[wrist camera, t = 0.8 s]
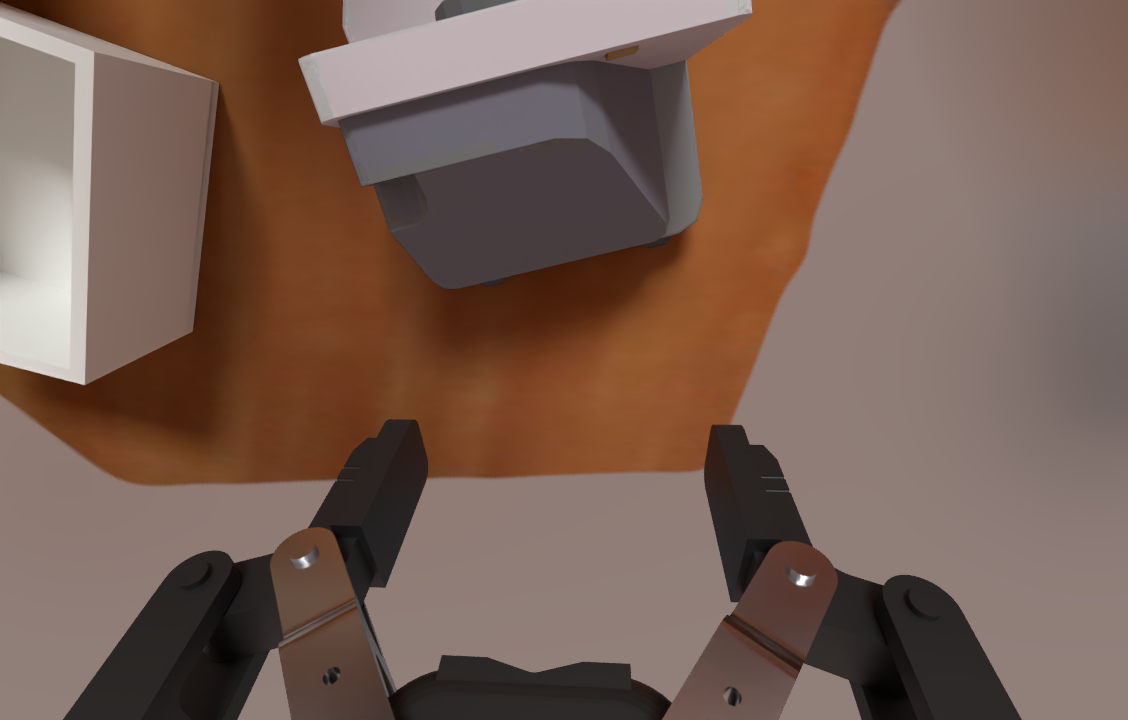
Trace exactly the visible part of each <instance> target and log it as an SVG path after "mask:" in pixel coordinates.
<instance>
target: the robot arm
mask: <svg viewBox="0 0 1128 720" xmlns="http://www.w3.org/2000/svg"><path fill="white" fill-rule="evenodd" d="M427 474H428V460H427V456H426V452H425V448H424V444H423V440H422V436H421V432H420V428H419V425H418V422H417V421H416V420H393V419H389V420H387V421H386V422H385V423H384V425H383V427H382V429H381V431H380V433H379V434H378V436H377V438H367V439H366V440H365V441H364V442H363V443H361V444H360V445H359V446H358V447H357V448H356V449H355V450H353V452H352V453H351V455H350V457H349V459H348V460H347V462H346V464H345V465H344V469H342V471H341V472H340V474H339V476H338V477H337V481H335V483H334V485H333V486H332V488H331V490H330V491H329V493H328V495H327V496H326V498H325V500H324V502H323V503H322V505H321V507H320V508H319V510H318V512H317V514H316V515H315V517H314V519H313V521H312V522H311V524H310V526H309V527H308V528H307V529H304V530H301V531H299V532H297V533H295V534H293V535H291V536H290V537H288V538H287V539H286V540H285V541H283V542H282V543H281V544H280V545H279V546H278V547H277V549H276V550H275V552H274V553H272V554H269V555H265V556H262V557H257V558H253V559H249V560H245V561H241V562H237V563H234V562H233V561H232V559H231V558H230V556H229V555H228V554H226V553H225V552H222V551H207V552H203V553H200V554H197V555H195V556H193V557H191V558H189V559H187V560H185V561H184V562H182V563H181V564H179V565H178V566H177V567H176V568H174V569H173V570H172V571H171V572H170V573H169V574H168V576H167V577H166V578H165V579H164V581H163V582H162V583H161V585H160V586H159V587H158V589H157V590H156V592H155V593H154V594H153V596H152V597H151V599H150V600H149V601H148V603H147V604H146V605H145V607H144V608H143V610H142V611H141V612H140V614H139V615H138V617H137V618H136V619H135V621H134V622H133V624H132V625H131V626H130V628H129V629H128V630H127V632H126V633H125V635H124V636H123V637H122V639H121V640H120V641H119V643H118V644H117V646H116V647H115V648H114V650H113V651H112V653H111V654H110V655H109V657H108V658H107V659H106V661H105V662H104V664H103V665H102V666H101V668H100V669H99V671H98V672H97V673H96V675H95V676H94V677H93V679H92V680H91V682H90V683H89V684H88V686H87V687H86V689H85V690H84V692H83V693H82V694H81V695H80V697H79V698H78V700H77V701H76V702H75V704H74V705H73V707H72V708H71V710H70V711H69V712H68V714H67V715H66V716H65V718H64V719H63V720H237V719H238V717H239V715H240V713H241V710H242V708H243V706H244V704H245V702H246V700H247V698H248V696H249V693H250V691H251V689H252V687H253V685H254V683H255V681H256V679H257V676H258V675H259V672H260V670H261V668H262V666H263V664H264V662H265V660H266V658H267V655H268V653H269V651H270V650H271V649H275V648H278V647H279V654H280V661H281V666H282V671H283V677H284V682H285V687H286V693H287V699H288V704H289V709H290V714H291V720H779V718H780V715H781V713H782V711H783V708H784V706H785V704H786V702H787V699H788V697H789V695H790V693H791V690H792V688H793V686H794V684H795V681H796V679H797V677H798V674H799V672H800V670H801V668H802V665H803V663H805V664H807V665H810V666H813V667H816V668H819V669H821V670H824V671H826V672H829V673H832V674H834V675H837V676H840V677H842V678H845V679H848V680H849V682H850V685H851V688H852V691H853V694H854V697H855V700H856V703H857V707H858V709H859V713H860V716H861V719H862V720H1022V719H1021V718H1020V716H1019V714H1018V712H1017V710H1016V709H1015V707H1014V705H1013V703H1012V701H1011V699H1010V698H1009V696H1008V694H1007V692H1006V690H1005V689H1004V687H1003V685H1002V683H1001V681H1000V679H999V678H998V676H997V674H996V672H995V671H994V669H993V667H992V665H991V663H990V661H989V660H988V658H987V656H986V654H985V652H984V650H983V649H982V647H981V645H980V643H979V641H978V640H977V638H976V636H975V634H974V632H973V630H972V629H971V627H970V625H969V623H968V621H967V619H966V618H965V616H964V614H963V612H962V611H961V609H960V607H959V606H958V604H957V603H956V602H955V601H954V599H953V598H952V597H951V596H950V595H948V594H947V593H946V592H945V591H944V590H942V589H941V588H940V587H938V586H937V585H935V584H933V583H931V582H929V581H927V580H925V579H922V578H919V577H916V576H911V575H899V576H894V577H892V578H890V579H889V580H887V582H886V583H885V584H884V586H883V585H880V584H877V583H874V582H870V581H867V580H864V579H861V578H857V577H854V576H851V575H848V574H845V573H844V572H841V571H839V570H838V569H836V568H834V566H833V565H832V563H831V562H830V561H829V559H828V558H827V557H826V556H825V555H824V554H822V553H821V552H820V551H819V550H817V549H815V548H814V547H813V546H812V544H811V542H810V539H809V537H808V534H807V532H806V530H805V527H804V525H803V522H802V520H801V517H800V515H799V512H798V510H797V507H796V505H795V502H794V500H793V497H792V495H791V493H789V488H788V485H787V483H786V480H785V479H784V475H783V473H782V470H781V468H780V465H779V463H778V460H777V459H776V458H775V457H774V456H773V455H772V454H771V453H770V452H769V451H768V450H767V449H766V448H765V446H764V445H750V444H749V442H748V439H747V436H746V433H745V430H744V428H743V426H742V425H712V427H711V431H710V436H709V442H708V448H707V454H706V460H705V467H704V481H705V489H706V493H707V497H708V502H709V507H710V511H711V515H712V520H713V525H714V529H715V533H716V538H717V542H718V546H719V551H720V556H721V560H722V565H723V568H724V573H725V578H726V582H727V587H728V591H729V595H730V600H731V602H738V604H737V606H736V607H735V609H734V611H733V612H732V614H731V615H730V616H729V615H727V616H726V617H725V618H724V619H723V620H722V622H721V623H720V625H719V626H718V628H717V630H716V631H715V633H714V635H713V636H712V638H711V640H710V641H709V643H708V645H707V646H706V648H705V650H704V651H703V653H702V654H701V656H700V658H699V660H698V661H697V663H696V664H695V666H694V668H693V669H692V671H691V673H690V675H689V676H688V678H687V679H686V681H685V683H684V684H683V686H682V688H681V689H680V691H679V693H678V694H677V696H676V698H675V699H674V701H673V702H672V703H671V702H670V701H669V700H668V699H667V698H666V697H664V696H663V695H662V694H661V693H659V692H657V691H656V690H654V689H653V688H651V687H649V686H647V685H645V684H643V683H641V682H639V681H636V680H633V679H631V668H630V664H619V663H598V662H580V663H576V664H572V665H567V666H563V667H559V668H554V669H550V670H546V671H542V672H537V673H532V672H528V671H525V670H522V669H519V668H516V667H514V666H511V665H508V664H504V663H502V662H499V661H496V660H493V659H491V658H488V657H469V656H447V655H442V657H441V661H440V665H439V669H438V671H434V672H431V673H428V674H425V675H423V676H420V677H418V678H417V679H414V680H413V681H411V682H409V683H407V684H406V685H404V686H403V687H401V688H400V689H398V690H397V689H396V687H395V684H394V682H393V679H392V677H391V675H390V672H389V669H388V667H387V664H386V661H385V658H384V656H383V653H382V650H381V647H380V644H379V642H378V639H377V636H376V633H375V630H374V627H373V624H372V622H371V619H370V616H369V613H368V610H367V608H366V605H365V602H364V599H365V597H366V594H367V592H368V590H369V587H383V588H385V587H386V584H387V582H388V579H389V577H390V574H391V572H392V569H393V566H394V564H395V561H396V559H397V556H398V553H399V551H400V548H401V545H402V543H403V540H404V537H405V535H406V532H407V530H408V527H409V525H410V522H411V519H412V517H413V514H414V511H415V509H416V506H417V503H418V501H419V498H420V496H421V493H422V490H423V488H424V485H425V483H426V479H427Z"/></svg>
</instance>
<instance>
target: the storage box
mask: <svg viewBox="0 0 1128 720" xmlns="http://www.w3.org/2000/svg"><path fill="white" fill-rule="evenodd" d="M218 89H219V83H218V82H216V81H213V80H210V79H208V78H205V77H202V76H199V75H197V74H194V73H191V72H189V71H186V70H183V69H181V68H178V67H175V66H172V65H170V64H167V63H164V62H162V61H159V60H156V59H153V58H151V57H148V56H145V55H143V54H140V53H137V52H135V51H132V50H129V49H126V48H124V47H121V46H118V45H116V44H113V43H110V42H107V41H105V40H102V39H99V38H97V37H94V36H91V35H89V34H86V33H83V32H80V31H78V30H75V29H72V28H70V27H67V26H64V25H61V24H59V23H56V22H53V21H51V20H48V19H45V18H43V17H40V16H37V15H34V14H32V13H29V12H26V11H24V10H21V9H18V8H15V7H13V6H10V5H7V4H5V3H2V2H0V363H2V364H6V365H9V366H13V367H17V368H21V369H25V370H29V371H32V372H36V373H40V374H44V375H48V376H52V377H55V378H59V379H63V380H67V381H71V382H75V383H78V384H82V385H86V384H88V383H90V382H92V381H94V380H96V379H98V378H100V377H102V376H104V375H106V374H108V373H110V372H112V371H114V370H116V369H118V368H120V367H122V366H124V365H126V364H128V363H130V362H132V361H134V360H136V359H138V358H140V357H142V356H144V355H146V354H148V353H150V352H153V351H155V350H157V349H159V348H161V347H163V346H165V345H167V344H169V343H171V342H173V341H175V340H177V339H179V338H181V337H183V336H185V335H187V334H189V333H191V332H193V325H194V316H195V306H196V297H197V287H198V278H199V269H200V259H201V250H202V240H203V231H204V221H205V212H206V203H207V193H208V184H209V174H210V165H211V155H212V146H213V137H214V127H215V118H216V108H217V99H218Z"/></svg>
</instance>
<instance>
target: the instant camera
mask: <svg viewBox="0 0 1128 720" xmlns="http://www.w3.org/2000/svg"><path fill="white" fill-rule="evenodd" d="M750 16H752V6H751V0H343V25H342V27H343V30H344V32H345V35H346V38H347V40H348V43H349V44H347V45H343V46H339V47H335V48H332V49H328V50H324V51H320V52H316V53H312V54H309V55H307V56H304V57H302V58H300V59H298V61H299V65H300V68H301V70H302V73H303V76H304V78H305V81H306V84H307V86H308V89H309V92H310V94H311V97H312V100H313V102H314V105H315V108H316V110H317V113H318V116H319V119H320V121H321V124H322V125H327V126H332V127H338V128H340V129H341V132H342V135H343V137H344V140H345V143H346V146H347V148H348V151H349V154H350V157H351V160H352V162H353V165H354V168H355V171H356V173H357V176H358V179H359V182H360V184H361V187H364V186H371V185H374V188H375V191H376V194H377V196H378V199H379V202H380V205H381V208H382V211H383V213H384V216H385V219H386V222H387V225H388V228H389V230H390V233H391V234H392V235H393V236H394V237H395V238H396V240H397V241H398V242H399V243H400V244H401V245H402V247H403V248H404V249H405V250H406V251H407V252H408V254H409V255H410V256H411V257H412V258H413V259H414V260H415V262H416V263H417V264H418V265H419V266H420V267H421V269H422V270H423V271H424V272H425V273H426V274H427V276H428V277H429V278H430V279H431V280H432V281H433V282H434V283H436V284H437V285H439V286H441V287H442V288H445V289H459V288H463V287H467V286H472V285H476V284H481V285H484V286H493V285H497V284H502V283H503V282H504V281H505V280H506V278H507V277H509V276H513V275H517V274H522V273H526V272H530V271H534V270H538V269H542V268H547V267H551V266H555V265H559V264H563V263H567V262H572V261H576V260H580V259H584V258H588V257H592V256H597V255H601V254H605V253H609V252H613V251H618V250H622V249H626V248H630V247H634V246H638V245H643V246H645V247H649V248H652V247H656V246H660V245H664V244H665V243H666V242H667V241H668V240H669V238H670V236H672V235H676V234H679V233H680V232H682V231H683V230H685V229H686V228H688V227H689V226H690V225H692V224H693V223H695V222H696V221H697V219H698V215H699V211H700V208H701V204H702V200H703V195H702V187H701V178H700V170H699V162H698V153H697V145H696V136H695V128H694V119H693V111H692V102H691V94H690V85H689V77H688V68H687V59H688V58H690V57H691V56H693V55H694V54H696V53H697V52H699V51H700V50H702V49H703V48H705V47H706V46H708V45H709V44H710V43H712V42H713V41H715V40H716V39H718V38H719V37H721V36H722V35H724V34H725V33H727V32H728V31H730V30H731V29H733V28H734V27H736V26H737V25H739V24H740V23H742V22H743V21H744V20H746V19H747V18H749V17H750Z"/></svg>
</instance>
